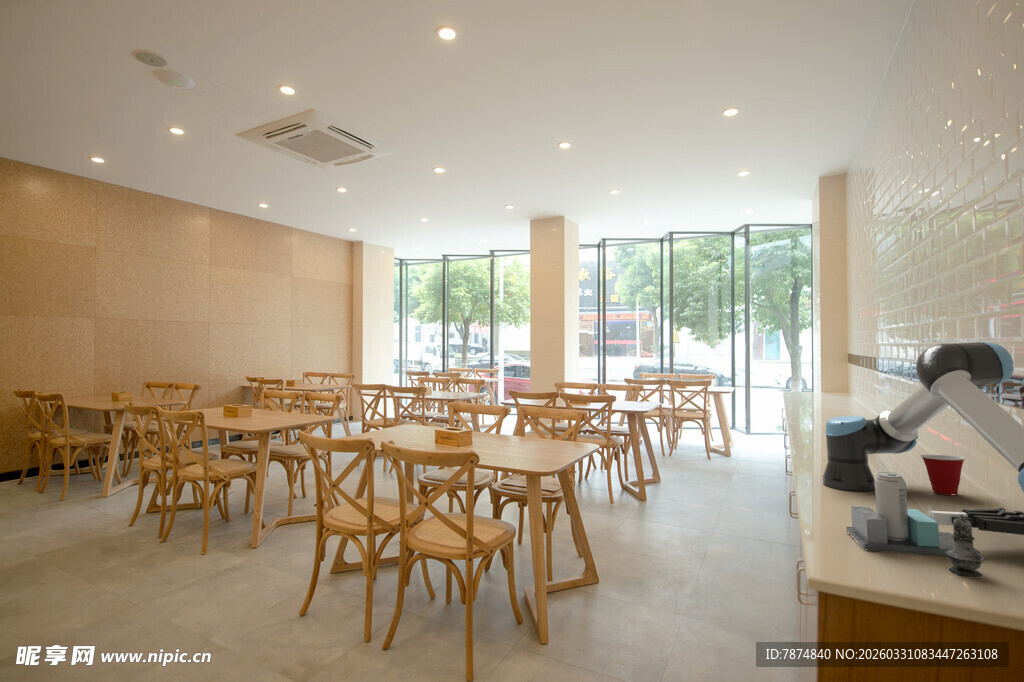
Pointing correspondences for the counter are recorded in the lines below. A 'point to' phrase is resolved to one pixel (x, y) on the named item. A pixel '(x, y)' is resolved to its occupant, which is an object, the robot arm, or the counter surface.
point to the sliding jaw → (922, 529)
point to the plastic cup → (944, 472)
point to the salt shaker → (964, 551)
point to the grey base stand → (874, 535)
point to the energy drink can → (892, 504)
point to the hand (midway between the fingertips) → (932, 517)
